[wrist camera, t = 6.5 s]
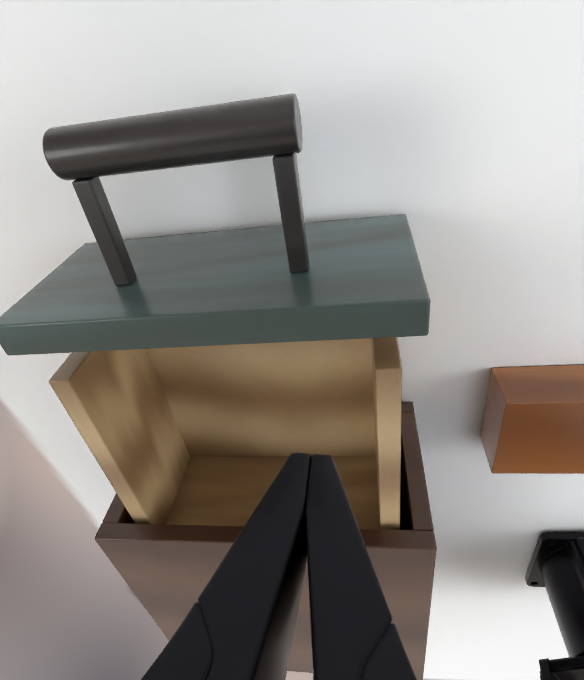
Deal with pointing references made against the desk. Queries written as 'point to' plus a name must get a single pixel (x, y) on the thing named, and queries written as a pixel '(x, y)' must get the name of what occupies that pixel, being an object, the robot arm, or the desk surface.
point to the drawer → (225, 328)
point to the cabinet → (382, 545)
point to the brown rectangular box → (535, 419)
